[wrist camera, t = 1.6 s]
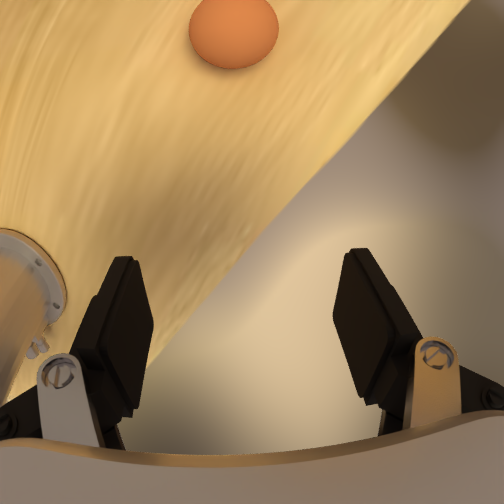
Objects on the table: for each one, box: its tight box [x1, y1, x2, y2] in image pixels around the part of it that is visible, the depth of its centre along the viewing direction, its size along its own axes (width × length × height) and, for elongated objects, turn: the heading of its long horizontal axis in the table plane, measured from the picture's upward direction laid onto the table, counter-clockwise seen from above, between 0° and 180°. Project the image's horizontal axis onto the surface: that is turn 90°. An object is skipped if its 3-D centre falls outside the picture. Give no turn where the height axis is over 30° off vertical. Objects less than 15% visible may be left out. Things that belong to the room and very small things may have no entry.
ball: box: [189, 0, 279, 69], centre depth 16 cm, size 6×6×6 cm
